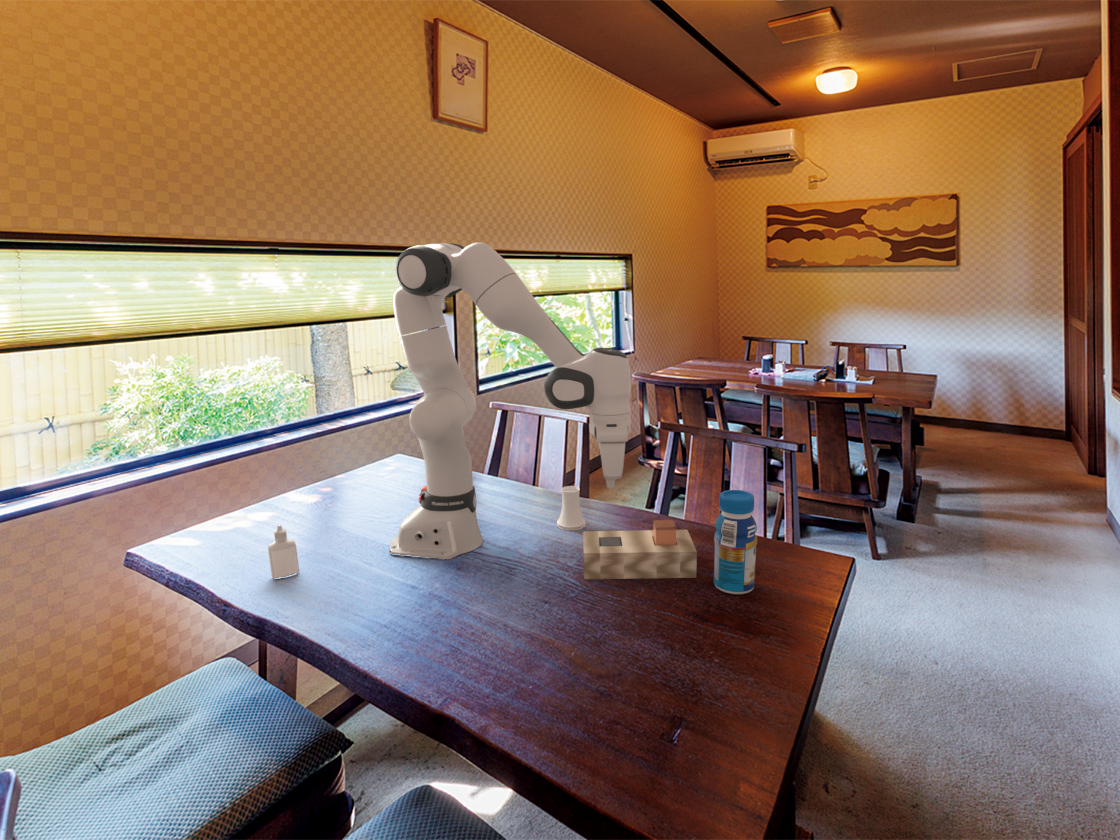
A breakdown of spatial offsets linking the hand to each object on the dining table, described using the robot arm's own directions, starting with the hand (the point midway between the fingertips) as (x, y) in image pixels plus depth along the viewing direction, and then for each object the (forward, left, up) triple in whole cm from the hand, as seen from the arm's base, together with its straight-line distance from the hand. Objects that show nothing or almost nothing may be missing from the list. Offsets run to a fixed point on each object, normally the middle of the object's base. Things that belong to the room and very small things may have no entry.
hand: (610, 486), depth 138 cm
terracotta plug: (+12, 0, -14) cm, 19 cm away
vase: (-9, +25, -19) cm, 33 cm away
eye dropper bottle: (-73, -2, -19) cm, 76 cm away
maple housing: (+6, 0, -19) cm, 20 cm away
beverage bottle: (+25, -10, -19) cm, 33 cm away
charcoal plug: (0, 0, -18) cm, 18 cm away
